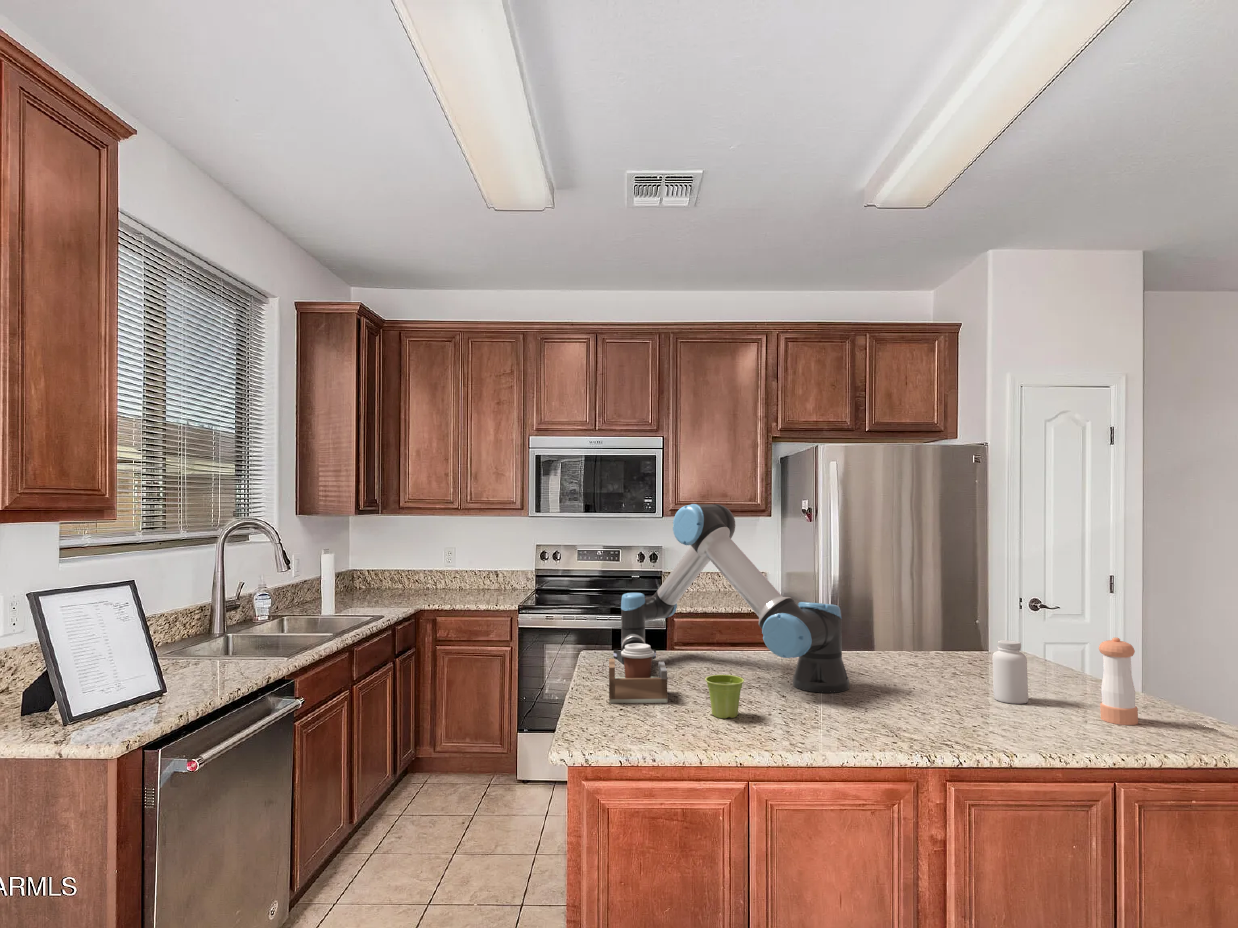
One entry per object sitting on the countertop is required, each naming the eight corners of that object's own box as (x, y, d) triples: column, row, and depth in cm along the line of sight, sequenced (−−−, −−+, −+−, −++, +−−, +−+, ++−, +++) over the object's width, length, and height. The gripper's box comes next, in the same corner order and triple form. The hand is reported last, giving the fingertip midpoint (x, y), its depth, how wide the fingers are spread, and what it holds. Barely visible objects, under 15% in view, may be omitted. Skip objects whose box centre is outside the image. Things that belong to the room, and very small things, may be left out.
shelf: (609, 680, 218) (609, 648, 218) (661, 679, 218) (660, 648, 219) (609, 703, 194) (609, 667, 194) (667, 702, 194) (667, 667, 194)
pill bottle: (1027, 698, 195) (1025, 639, 196) (1029, 706, 188) (1027, 645, 189) (993, 695, 199) (991, 637, 199) (994, 702, 191) (992, 643, 192)
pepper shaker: (1139, 726, 170) (1135, 641, 171) (1100, 722, 174) (1097, 638, 175) (1137, 718, 177) (1134, 636, 177) (1100, 714, 180) (1097, 633, 181)
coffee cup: (657, 687, 206) (656, 642, 206) (652, 695, 197) (651, 649, 197) (624, 685, 207) (624, 641, 208) (618, 694, 198) (617, 648, 199)
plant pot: (750, 713, 184) (749, 677, 184) (735, 723, 176) (735, 685, 176) (715, 707, 189) (714, 672, 189) (699, 717, 180) (698, 680, 181)
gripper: (655, 661, 230) (660, 679, 207) (612, 661, 230) (612, 680, 207) (655, 636, 231) (660, 652, 207) (612, 636, 231) (612, 652, 207)
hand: (636, 666), depth 207 cm, fingers closed
